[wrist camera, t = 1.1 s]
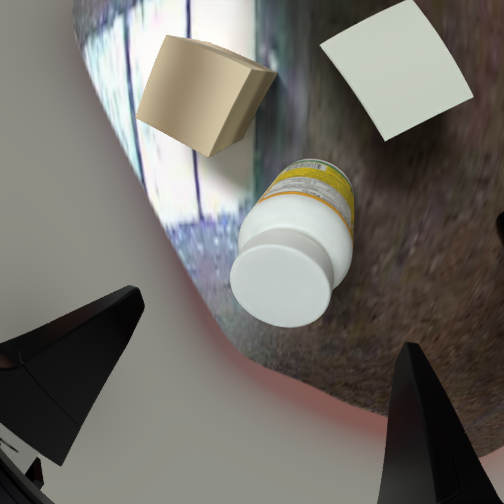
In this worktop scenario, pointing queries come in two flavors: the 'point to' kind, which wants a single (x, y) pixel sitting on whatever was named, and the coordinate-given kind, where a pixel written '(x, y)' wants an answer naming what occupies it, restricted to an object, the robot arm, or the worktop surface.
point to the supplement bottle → (295, 245)
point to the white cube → (398, 68)
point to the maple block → (203, 94)
